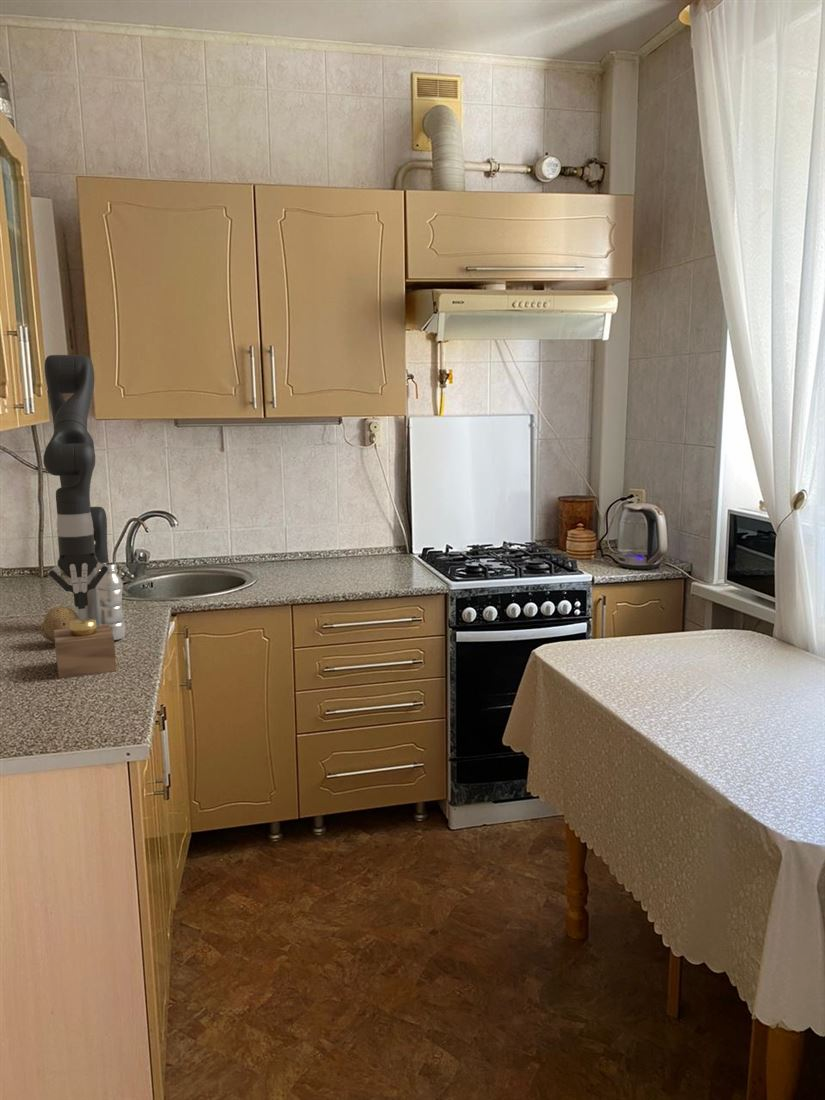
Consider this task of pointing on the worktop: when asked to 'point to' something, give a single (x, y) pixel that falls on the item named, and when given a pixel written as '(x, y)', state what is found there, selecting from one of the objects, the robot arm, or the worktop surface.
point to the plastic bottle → (111, 601)
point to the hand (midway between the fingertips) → (81, 608)
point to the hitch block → (85, 652)
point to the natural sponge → (57, 621)
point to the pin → (83, 627)
